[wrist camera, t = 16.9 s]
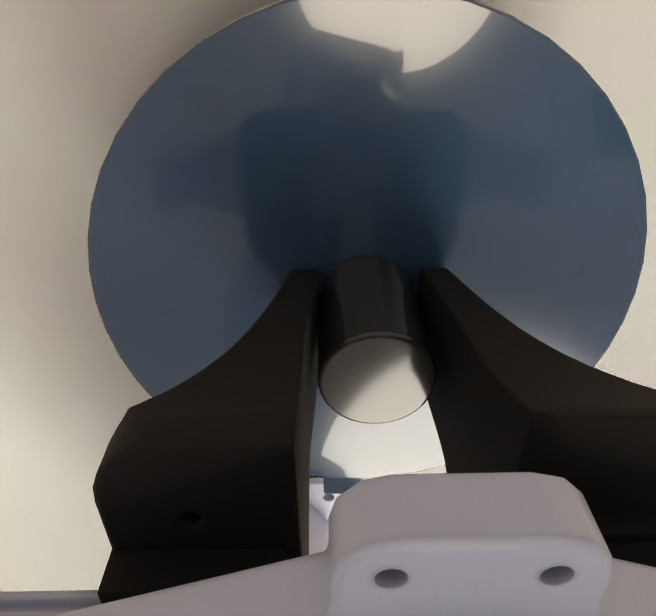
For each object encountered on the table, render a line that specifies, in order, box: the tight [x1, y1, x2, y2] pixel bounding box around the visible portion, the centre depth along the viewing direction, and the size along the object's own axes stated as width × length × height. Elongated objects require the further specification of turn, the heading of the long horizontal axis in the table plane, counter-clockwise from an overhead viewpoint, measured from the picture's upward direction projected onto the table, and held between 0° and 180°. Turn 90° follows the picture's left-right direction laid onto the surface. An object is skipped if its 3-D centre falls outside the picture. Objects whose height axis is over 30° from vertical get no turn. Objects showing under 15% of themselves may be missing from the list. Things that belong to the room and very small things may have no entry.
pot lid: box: [88, 0, 647, 478], centre depth 13 cm, size 13×13×4 cm
